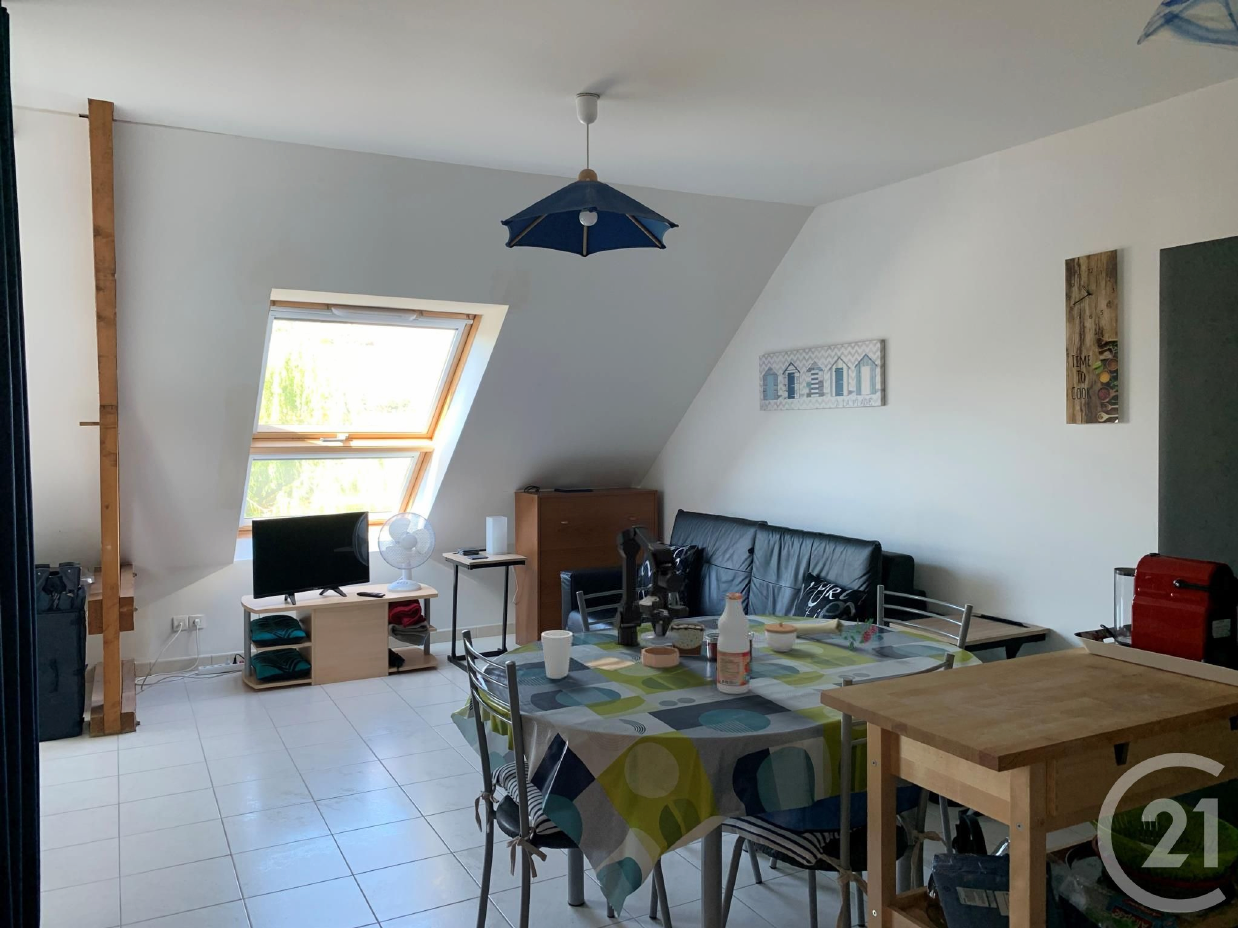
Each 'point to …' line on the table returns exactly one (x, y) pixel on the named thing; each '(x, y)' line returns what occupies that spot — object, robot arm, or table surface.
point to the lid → (659, 636)
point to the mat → (609, 663)
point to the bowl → (660, 656)
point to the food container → (688, 638)
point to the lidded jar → (780, 636)
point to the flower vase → (835, 630)
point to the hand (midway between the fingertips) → (660, 634)
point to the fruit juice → (733, 648)
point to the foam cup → (556, 652)
